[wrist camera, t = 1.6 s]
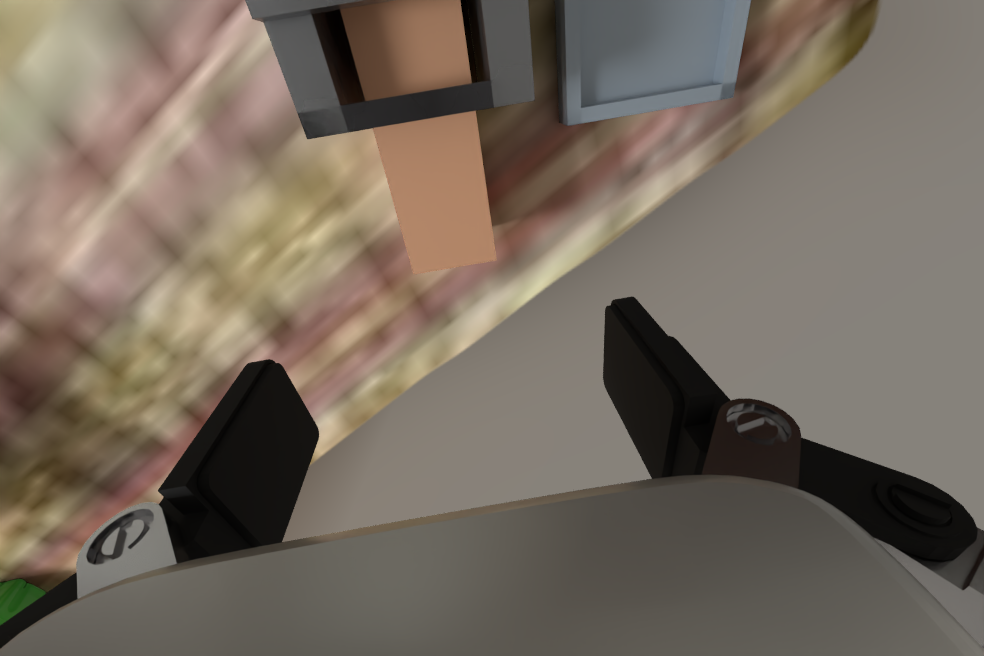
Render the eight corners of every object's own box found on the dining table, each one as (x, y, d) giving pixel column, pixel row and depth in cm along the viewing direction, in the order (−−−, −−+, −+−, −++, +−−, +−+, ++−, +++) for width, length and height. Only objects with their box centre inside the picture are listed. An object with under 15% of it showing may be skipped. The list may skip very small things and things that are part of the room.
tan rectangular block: (360, 7, 20) (333, -15, 15) (452, -8, 20) (455, -35, 15) (418, 238, 28) (413, 274, 23) (487, 227, 28) (496, 260, 23)
